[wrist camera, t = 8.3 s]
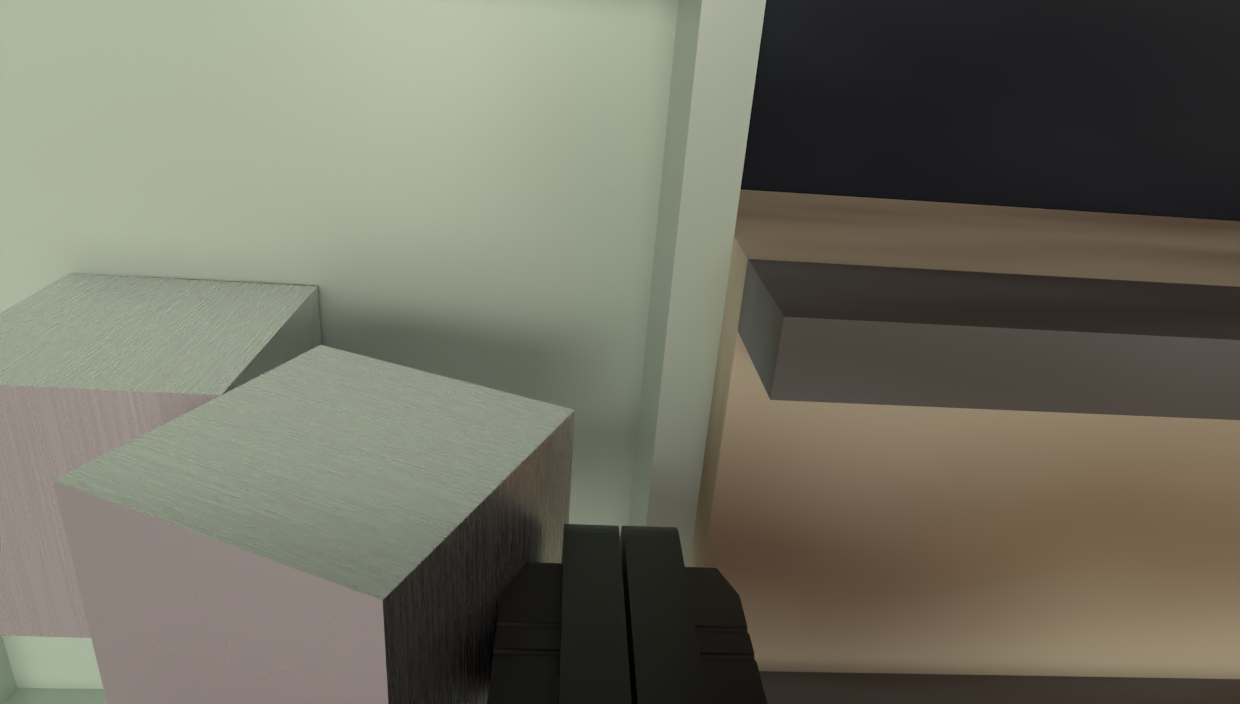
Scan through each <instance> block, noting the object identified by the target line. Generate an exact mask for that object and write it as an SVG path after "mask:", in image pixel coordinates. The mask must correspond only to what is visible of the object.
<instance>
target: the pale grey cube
mask: <svg viewBox="0 0 1240 704" xmlns="http://www.w3.org/2000/svg"><path fill="white" fill-rule="evenodd" d="M319 345H322V339H321V327H320V315H319V303H318V290H317V286H300V285H281V284H263V283H244V282H226V281H207V280H189V279H170V278H152V277H134V276H115V275H97V274H78V273H70V274H68V275H66V276H64V277H63V278H61V279H59V280H57V281H56V282H54V283H52V284H50V285H48V286H47V287H45V288H43V289H41V290H40V291H38V292H36V293H34V294H33V295H31V296H29V297H27V298H26V299H24V300H22V301H20V302H19V303H17V304H15V305H13V306H11V307H10V308H8V309H6V310H4V311H3V312H1V313H0V635H2V636H37V637H73V638H91V635H90V631H89V627H88V623H87V618H86V614H85V610H84V606H83V602H82V598H81V594H80V590H79V585H78V581H77V577H76V573H75V569H74V565H73V561H72V556H71V552H70V548H69V544H68V540H67V536H66V532H65V527H64V523H63V519H62V515H61V511H60V507H59V503H58V498H57V494H56V490H55V486H54V482H53V480H55V479H57V478H59V477H61V476H63V475H65V474H67V473H69V472H71V471H73V470H75V469H77V468H79V467H81V466H83V465H85V464H87V463H89V462H91V461H93V460H95V459H97V458H99V457H101V456H103V455H105V454H107V453H109V452H111V451H113V450H114V449H116V448H118V447H120V446H122V445H124V444H126V443H128V442H130V441H132V440H134V439H136V438H138V437H140V436H142V435H144V434H146V433H148V432H150V431H152V430H154V429H156V428H158V427H160V426H162V425H164V424H166V423H168V422H170V421H172V420H174V419H175V418H177V417H179V416H181V415H183V414H185V413H187V412H189V411H191V410H193V409H195V408H197V407H199V406H201V405H203V404H205V403H207V402H209V401H211V400H213V399H215V398H217V397H219V396H221V395H223V394H225V393H227V392H229V391H231V390H233V389H235V388H236V387H238V386H240V385H242V384H244V383H246V382H248V381H250V380H252V379H254V378H256V377H258V376H260V375H262V374H264V373H266V372H268V371H270V370H272V369H274V368H276V367H278V366H280V365H282V364H284V363H286V362H288V361H290V360H292V359H294V358H296V357H297V356H299V355H301V354H303V353H305V352H307V351H309V350H311V349H313V348H315V347H317V346H319Z"/></svg>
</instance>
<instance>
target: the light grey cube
mask: <svg viewBox="0 0 1240 704" xmlns="http://www.w3.org/2000/svg"><path fill="white" fill-rule="evenodd" d="M574 418H575V410H574V409H570V408H566V407H562V406H558V405H554V404H550V403H546V402H542V401H539V400H535V399H531V398H527V397H523V396H519V395H515V394H511V393H507V392H503V391H499V390H496V389H492V388H488V387H484V386H480V385H476V384H472V383H468V382H464V381H460V380H456V379H453V378H449V377H445V376H441V375H437V374H433V373H429V372H425V371H421V370H417V369H413V368H410V367H406V366H402V365H398V364H394V363H390V362H386V361H382V360H378V359H374V358H370V357H367V356H363V355H359V354H355V353H351V352H347V351H343V350H339V349H335V348H331V347H327V346H324V345H319V346H317V347H315V348H313V349H311V350H309V351H307V352H305V353H303V354H301V355H299V356H297V357H296V358H294V359H292V360H290V361H288V362H286V363H284V364H282V365H280V366H278V367H276V368H274V369H272V370H270V371H268V372H266V373H264V374H262V375H260V376H258V377H256V378H254V379H252V380H250V381H248V382H246V383H244V384H242V385H240V386H238V387H236V388H235V389H233V390H231V391H229V392H227V393H225V394H223V395H221V396H219V397H217V398H215V399H213V400H211V401H209V402H207V403H205V404H203V405H201V406H199V407H197V408H195V409H193V410H191V411H189V412H187V413H185V414H183V415H181V416H179V417H177V418H175V419H174V420H172V421H170V422H168V423H166V424H164V425H162V426H160V427H158V428H156V429H154V430H152V431H150V432H148V433H146V434H144V435H142V436H140V437H138V438H136V439H134V440H132V441H130V442H128V443H126V444H124V445H122V446H120V447H118V448H116V449H114V450H113V451H111V452H109V453H107V454H105V455H103V456H101V457H99V458H97V459H95V460H93V461H91V462H89V463H87V464H85V465H83V466H81V467H79V468H77V469H75V470H73V471H71V472H69V473H67V474H65V475H63V476H61V477H59V478H57V479H55V480H53V482H54V486H55V490H56V494H57V498H58V503H59V507H60V511H61V515H62V519H63V523H64V527H65V532H66V536H67V540H68V544H69V548H70V552H71V556H72V561H73V565H74V569H75V573H76V577H77V581H78V585H79V590H80V594H81V598H82V602H83V606H84V610H85V614H86V618H87V623H88V627H89V631H90V635H91V639H92V643H93V647H94V652H95V656H96V660H97V664H98V668H99V672H100V676H101V681H102V685H103V689H104V693H105V697H106V701H107V704H487V699H488V691H489V683H490V675H491V668H492V660H493V655H494V644H495V636H496V628H497V621H498V613H499V605H500V597H501V593H502V592H503V590H504V589H505V588H506V587H507V585H508V584H509V583H510V582H511V581H512V579H513V578H514V577H515V576H516V574H517V573H518V572H519V571H520V570H521V568H522V567H523V566H524V565H525V563H526V562H536V563H562V547H563V530H564V524H569V508H570V490H571V472H572V454H573V436H574Z"/></svg>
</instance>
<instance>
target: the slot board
mask: <svg viewBox="0 0 1240 704" xmlns="http://www.w3.org/2000/svg"><path fill="white" fill-rule="evenodd" d="M689 567H706V568H717V569H718V570H719V571H720V573H721V574H722V575H723V576H724V577H725V579H726V580H727V581H728V582H729V583H730V585H731V586H732V587H733V588H734V590H735V591H736V592H737V593H738V594H739V596H740V600H741V603H742V607H743V611H744V615H745V619H746V623H747V627H748V628H747V631H748V633H749V634H750V638H751V642H752V646H753V650H754V659H755V661H757V665H758V669H759V673H760V677H761V681H762V685H763V688H764V692H765V696H766V700H767V704H1240V221H1228V220H1212V219H1196V218H1180V217H1165V216H1149V215H1133V214H1117V213H1102V212H1086V211H1070V210H1055V209H1039V208H1023V207H1007V206H992V205H976V204H960V203H945V202H929V201H913V200H897V199H882V198H866V197H850V196H835V195H819V194H803V193H787V192H772V191H756V190H740V196H739V203H738V211H737V218H736V226H735V233H734V240H733V248H732V255H731V262H730V270H729V277H728V284H727V292H726V299H725V307H724V314H723V321H722V329H721V336H720V343H719V351H718V358H717V365H716V373H715V380H714V388H713V395H712V402H711V410H710V417H709V424H708V432H707V439H706V446H705V454H704V461H703V468H702V476H701V483H700V491H699V498H698V505H697V513H696V520H695V527H694V535H693V542H692V549H691V557H690V564H689Z"/></svg>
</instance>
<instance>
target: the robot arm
mask: <svg viewBox="0 0 1240 704" xmlns="http://www.w3.org/2000/svg"><path fill="white" fill-rule="evenodd" d="M747 628H748V627H747V623H746V619H745V615H744V611H743V607H742V603H741V600H740V596H739V594H738V593H737V592H736V591H735V590H734V588H733V587H732V586H731V585H730V583H729V582H728V581H727V580H726V579H725V577H724V576H723V575H722V574H721V573H720V571H719V570H718V569H717V568H706V567H685V565H684V559H683V554H682V548H681V542H680V537H679V532H678V529H677V528H676V527H650V526H622V528H621V533H620V534H619V527H618V526H614V525H585V524H564V530H563V547H562V563H536V562H526V563H525V565H524V566H523V567H522V568H521V570H520V571H519V572H518V573H517V574H516V576H515V577H514V578H513V579H512V581H511V582H510V583H509V584H508V585H507V587H506V588H505V589H504V590H503V592H502V593H501V597H500V605H499V613H498V621H497V628H496V636H495V644H494V655H493V660H492V668H491V675H490V683H489V691H488V699H487V704H767V700H766V696H765V692H764V688H763V685H762V681H761V677H760V673H759V669H758V665H757V661H755V659H754V650H753V646H752V642H751V638H750V634H749V633H748V631H747Z"/></svg>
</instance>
